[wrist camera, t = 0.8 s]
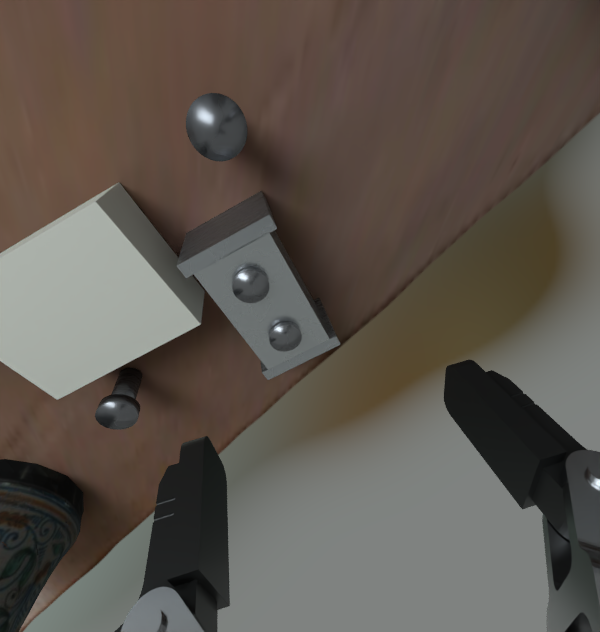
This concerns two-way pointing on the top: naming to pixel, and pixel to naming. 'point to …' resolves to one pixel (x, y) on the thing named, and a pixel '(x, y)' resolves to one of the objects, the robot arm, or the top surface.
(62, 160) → the top surface
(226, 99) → the bolt
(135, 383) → the bolt
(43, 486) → the beer stein
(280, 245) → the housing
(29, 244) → the stand
